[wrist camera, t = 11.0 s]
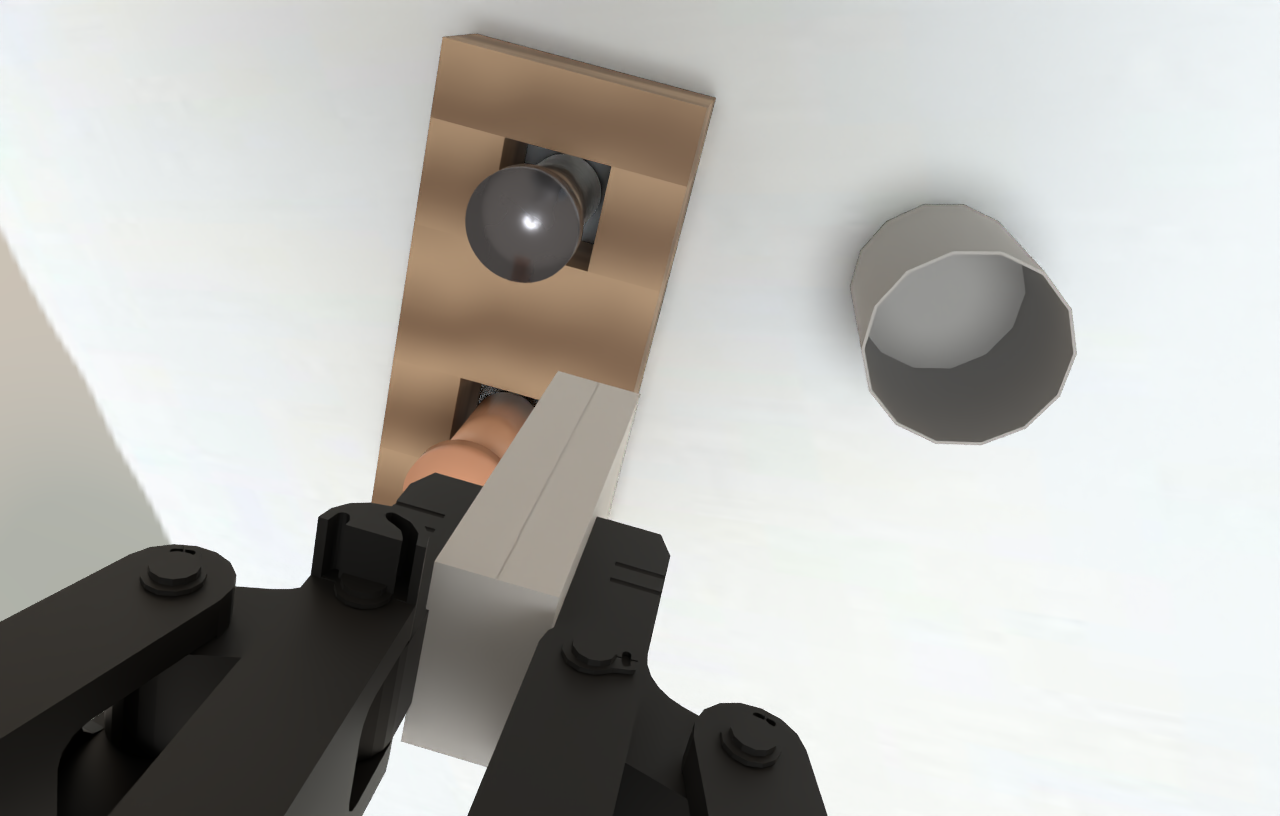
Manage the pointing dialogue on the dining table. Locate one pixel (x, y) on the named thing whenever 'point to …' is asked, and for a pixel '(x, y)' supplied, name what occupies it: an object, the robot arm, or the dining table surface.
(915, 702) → the dining table surface
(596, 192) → the plug grey
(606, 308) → the socket block
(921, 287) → the cup
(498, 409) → the plug terracotta
